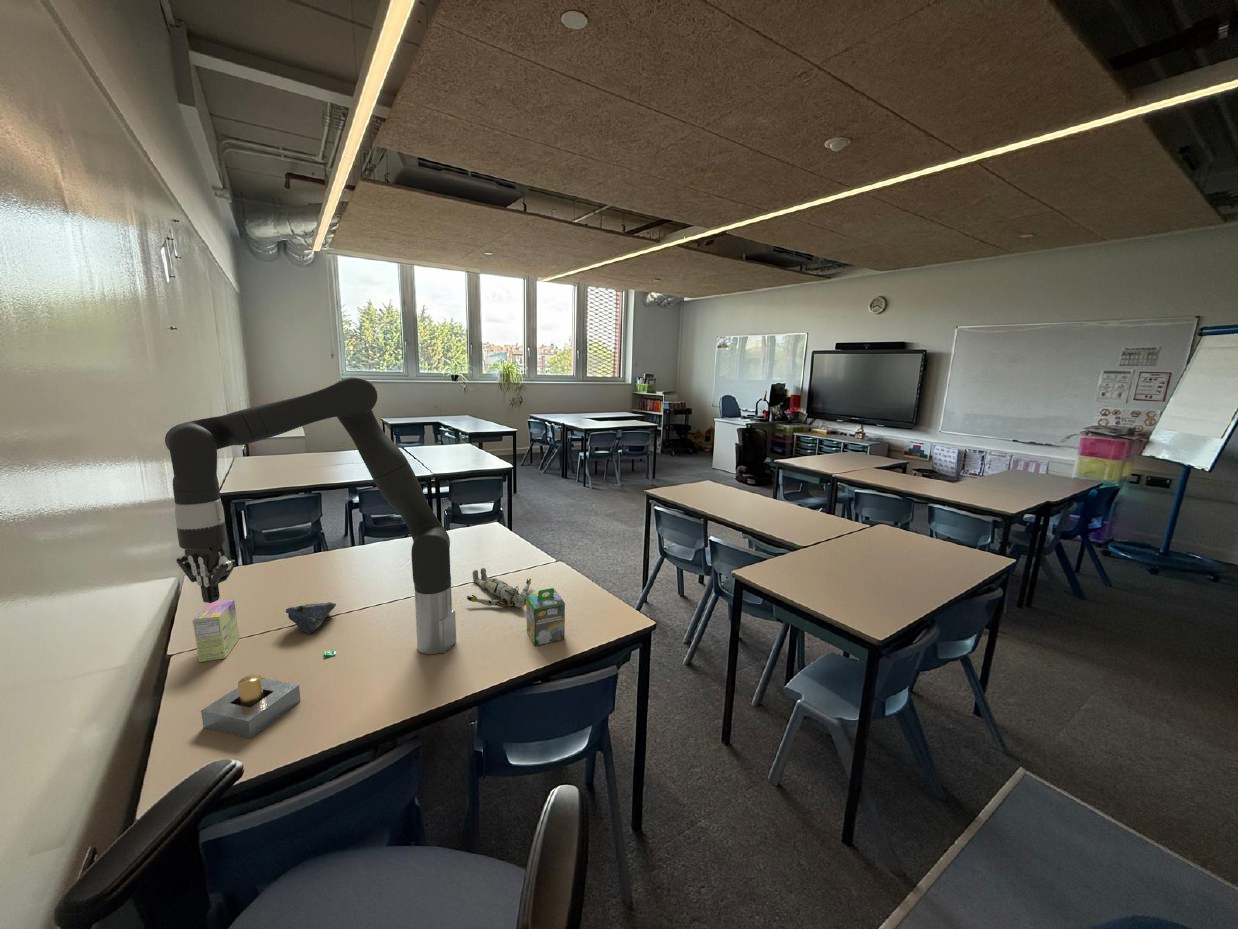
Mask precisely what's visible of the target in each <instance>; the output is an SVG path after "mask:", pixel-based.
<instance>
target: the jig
mask: <svg viewBox="0 0 1238 929" xmlns="http://www.w3.org/2000/svg"><path fill="white" fill-rule="evenodd" d="M261 680H262V687H263V695H264V699H262V700H261V701H260V702H258V703H257V704H255V705H254V706H252V707H251V708H249V707H244V706H241V703H240V696H239V689H238V687H236V688H234V689H233V690H232V691H229V693H227V694H225V695H223V696H222V697H220V698H219V699H217V700H215V701H213V703H211V704H209V705H208V706H205V708H204V707H203V709H201V710H200V713H201V714H200V715H201V721H202V727H203V729H207V730H210V731H215V732H216V731H217V732H219V733H225V734H229V735H232V736H233V735H234V736H239V737H242V738H247V739H252V738H253V737H254V736H256V735H257V734H258V733H260V732H261V731H263V730H265V728H266V727H268V726H269V725H270V724H272V723H273V722H275V721H276V720H278V719H279V718H280V717H281V716H282V715H284V714H285V713H287V712H288V711H289V710H290V709H291V708H293V707H294V706H295V705H297V704H298V703H300V702H301V693H300V692H301V691H300V684H296V683H293V682H292V683H291V682H286V681H282V680H276V679H271V678H266V677H262V676H261Z"/></svg>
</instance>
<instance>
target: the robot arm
mask: <svg viewBox="0 0 1238 929" xmlns="http://www.w3.org/2000/svg"><path fill="white" fill-rule="evenodd" d="M377 401H378V391H377V389H376V387H375V386H374V384H373V383H372V382H370V381H369V380H367V379H366V378H362V377H358V376H348V377H345V378H342V379H341V380H339V381H337V382H335V383H334V384H332V385H329V386H327V387H325V388H322V389H319V390H316V391H313V392H310V393H307V394H303V395H300V396H296V397H292V398H288V399H282V400H279V401H274V402H269V403H265V404H264V403H263V404H260V405H256V406H252V407H247V408H244V409H241V410H237V411H232V412H230V413H227V414H223V415H219V416H212V417H206V418H200V419H195V420H191V421H186V422H183V423H179V424H176V425H174V426H173V427H172V428H170V429H169V430H168V431H167V432H166V434H165V437H164V443H165V446H166V448H167V449H168V451H169V454H170V459H171V465H172V471H173V478H172V492H173V499H174V518H175V525H176V533H177V540H178V546H179V548H181V549H182V550H184V555H183V556H181V557H177V558H176V559H175V560H176V563H177V564H178V566H179V567H180V569H181V570H182V571H183V572H184V574H185V575H186V576H187V578H188V579H189V581H190V582H191V583H197V586H199V587H200V591H201V598H202V602H203V603H206V604H209V603H212V602H215V601H219V600H220V598H221V597H220V587H219V585H220V584H221V583H223V582H225V581H227V580H228V578H229V576H230V575H231V573H232V572H233V570H234V569H235V567H236V565H237V561H236V560H235V559H231V560H229V559H228V558H227V557H226V551H225V549H224V544H225V542H226V541H227V539H228V537H227V536H228V534H227V529H226V528H227V527H226V520H225V518H226V517H225V511H224V506H223V503H222V500H221V492H220V483H219V478H218V450H221V449H224V448H227V447H232V446H245V445H248V444H249V445H250V444H253V443H256V442H260V441H263V440H266V439H269V438H274V437H276V436H280V435H282V434H286V433H288V432H290V431H293V430H295V429H298V428H301V427H304V426H307V425H309V424H312V423H316V422H319V421H323V420H327V419H331V418H337V419H338V421H339V422H340V423H341V425H342V426H343V428H344V429H345V430H346V432H347V434H348V435H349V437H350V438H351V439H352V441H353V443H354V445H355V447H356V449H357V451H358V453H359V456H360V458H361V459H362V462H363V463H364V464H365V467H366V468H367V470H368V473H369V474H370V477H371V478H372V480H373V482H374V483H375V485H376V487H377V489H378V491H379V492H380V494H381V496H382V497H383V498H384V500H386V502H387V503H388V504H389V505H390V506H391V507H392V508H393V509H394V510H395V511H396V512H397V513H398V514H399V515H400V516H401V519H402V520H403V522H405V525H406V527H407V529H408V531H409V534H410V536H411V538H412V541H413V542H412V546H411V551H410V552H411V569H412V580H413V584H414V585H413V586H414V587H413V588H414V589H413V590H414V604H415V626H416V647H417V651H418V652H419V653H421V654H423V655H437V654H446V653H447V651H449V650H450V649H451V647H453V646H454V645H455V644H456V643H457V625H456V624H457V623H456V622H457V621H456V619H457V618H456V610H453V604H452V603H453V601H452V600H453V598H452V575H451V556H450V555H451V553H450V552H451V550H450V548H451V538H450V536H449V533H448V532H447V530H446V529H445V527H444V526H443V524H442V523H441V522H440V520H439V519H438V517H437V516H436V514H435V513H434V511H433V510H432V509H431V507H430V505H429V503H428V500H427V498H426V496H425V493H424V491H423V489H422V486H421V484H420V482H419V479H418V478H417V476H416V474H415V471H414V469H413V468H412V466H411V465H410V462H409V461H408V459H407V457H406V456H405V454H404V453H403V451H401V449H400V448H399V447H398V446H397V444H396V443H395V442H394V441H393V440H392V439H391V438H390V437H389V436H388V435H387V434H386V433H385V431H384V430H383V428H382V427H381V426H380V424H379V422H378V420H377V418H376V416H375V414H374V411H373V408H374V407H375V406H376V404H377Z"/></svg>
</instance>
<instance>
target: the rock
mask: <svg viewBox="0 0 1238 929" xmlns="http://www.w3.org/2000/svg"><path fill="white" fill-rule="evenodd" d="M336 607H337V603H336V602H335V603H334V602H331V601H330V602H321V603H307V604H306V603H305V604H304V605H297V606H290V607H288V608H286V609H285V613H286V614H288V615H287V616H288V617H287V618H288V619H289V620H290V621H292V622H293V623H294V624H296V626H297V627H298V628H299V630H300V631H302V632H304V633H306V634H309V635H310V634H312V633H313V632H315V631H316V629H319V627H320V626H321V625H322V624H323V621H324V620H325V619H326V618H327V617H328V615H330V613H331V612H332V611H333V610H334V609H335V608H336Z"/></svg>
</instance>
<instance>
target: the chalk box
mask: <svg viewBox="0 0 1238 929" xmlns="http://www.w3.org/2000/svg"><path fill="white" fill-rule="evenodd" d="M525 601H526V605H525V606H526V607H525V610H526V612H525V614H526V631H527V634H528V636H529V638H530V639H531V641H532V644H533V646H534V647H537V646H541V645H545V644H550V643H554V642H560V641H564V640H565V636H566V635H565V632H566V630H565V626H566V624H565V623H566V622H565V621H566V616H565V615H566V603H565V601H564V599H562V597H561V595H560V594H559V593H558V592H557V591H556V590H555V588H554V587H550V588H546V589H545V588H544V589H540V590H538V592H536V593H532V594H530V595H529V594H528V595H527V596H526V599H525Z"/></svg>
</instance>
